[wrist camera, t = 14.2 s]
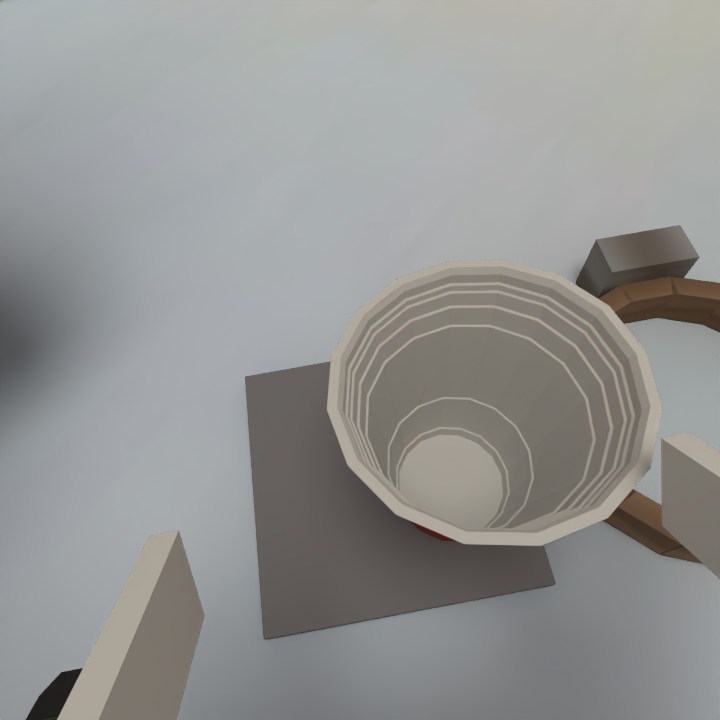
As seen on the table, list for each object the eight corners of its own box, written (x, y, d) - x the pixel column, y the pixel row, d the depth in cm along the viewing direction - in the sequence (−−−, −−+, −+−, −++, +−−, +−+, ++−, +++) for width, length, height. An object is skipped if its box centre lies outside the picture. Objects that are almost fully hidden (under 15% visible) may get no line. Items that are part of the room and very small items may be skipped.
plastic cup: (416, 355, 32) (436, 205, 21) (588, 458, 28) (712, 340, 18) (300, 506, 28) (255, 410, 17) (485, 646, 24) (570, 634, 14)
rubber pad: (267, 639, 26) (263, 639, 25) (248, 382, 33) (245, 376, 32) (551, 585, 26) (555, 583, 26) (474, 342, 33) (476, 335, 32)
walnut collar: (602, 592, 26) (634, 582, 22) (496, 295, 34) (508, 254, 31) (909, 534, 26) (987, 515, 23) (729, 254, 35) (766, 210, 31)
